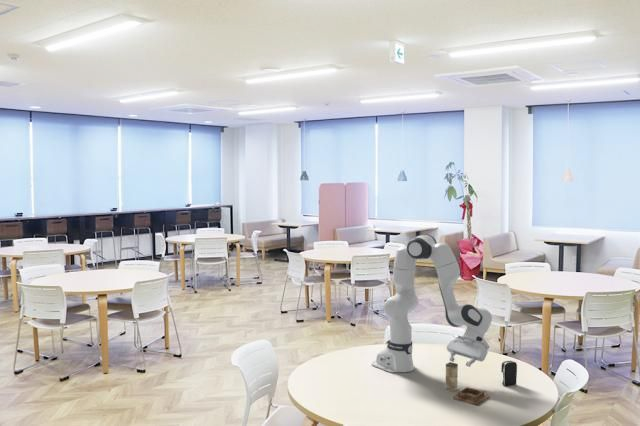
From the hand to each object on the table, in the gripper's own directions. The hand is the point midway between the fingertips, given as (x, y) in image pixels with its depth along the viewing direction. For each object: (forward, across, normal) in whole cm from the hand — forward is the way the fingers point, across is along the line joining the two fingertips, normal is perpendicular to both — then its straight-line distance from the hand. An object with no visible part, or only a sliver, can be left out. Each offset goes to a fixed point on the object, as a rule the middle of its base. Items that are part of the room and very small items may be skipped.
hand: (459, 363), depth 273 cm
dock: (+13, +12, +3) cm, 18 cm away
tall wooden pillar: (+12, 0, +4) cm, 12 cm away
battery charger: (-6, +14, +22) cm, 27 cm away
